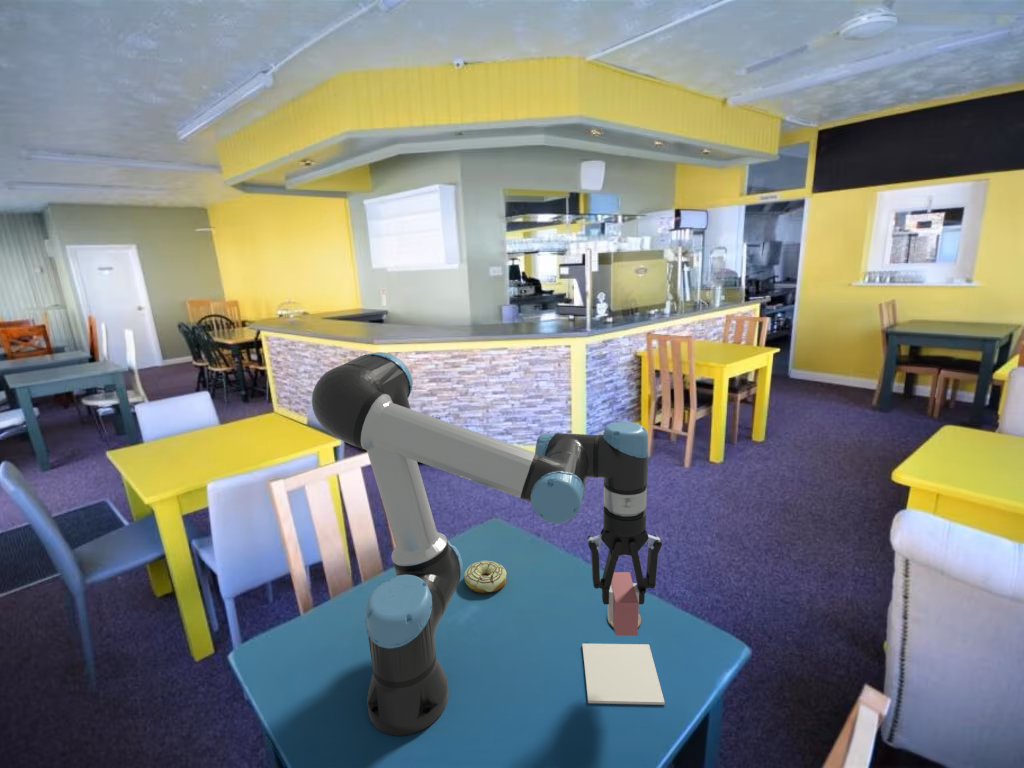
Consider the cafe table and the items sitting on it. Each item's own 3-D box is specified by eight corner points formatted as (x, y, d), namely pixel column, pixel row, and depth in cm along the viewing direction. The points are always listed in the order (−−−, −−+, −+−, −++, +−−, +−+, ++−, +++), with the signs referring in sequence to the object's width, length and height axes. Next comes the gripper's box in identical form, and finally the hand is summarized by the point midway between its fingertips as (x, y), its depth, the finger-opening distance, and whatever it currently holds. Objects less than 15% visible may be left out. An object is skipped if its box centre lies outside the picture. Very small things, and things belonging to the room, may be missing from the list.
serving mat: (588, 703, 94) (588, 700, 94) (582, 645, 107) (582, 643, 107) (664, 704, 93) (664, 702, 93) (648, 646, 106) (649, 644, 106)
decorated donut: (495, 601, 122) (494, 587, 121) (457, 590, 127) (456, 577, 126) (513, 575, 132) (512, 563, 131) (476, 566, 136) (476, 554, 135)
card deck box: (609, 602, 101) (609, 572, 99) (629, 602, 101) (629, 572, 99) (615, 635, 93) (615, 603, 91) (637, 635, 92) (638, 603, 90)
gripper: (578, 518, 88) (579, 630, 94) (678, 517, 86) (672, 631, 93) (575, 497, 95) (576, 603, 101) (667, 496, 94) (663, 603, 100)
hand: (622, 616), depth 97 cm, fingers closed on card deck box, 4 cm apart
